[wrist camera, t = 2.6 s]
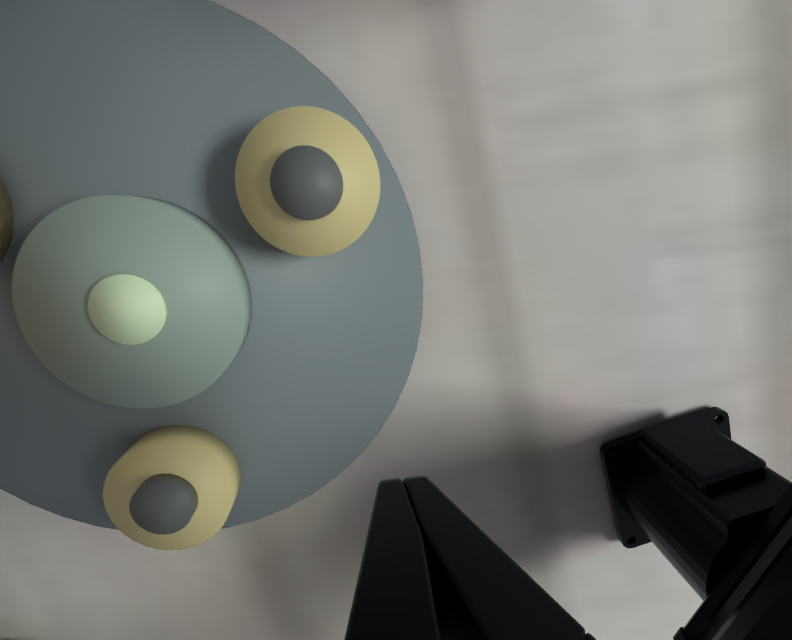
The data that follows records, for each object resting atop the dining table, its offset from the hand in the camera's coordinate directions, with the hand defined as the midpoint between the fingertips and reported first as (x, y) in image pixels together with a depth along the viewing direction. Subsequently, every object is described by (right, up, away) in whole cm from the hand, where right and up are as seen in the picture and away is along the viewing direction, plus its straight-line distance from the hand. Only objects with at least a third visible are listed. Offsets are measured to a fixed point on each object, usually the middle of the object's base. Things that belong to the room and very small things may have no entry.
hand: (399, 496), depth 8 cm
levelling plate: (-10, +4, +10) cm, 15 cm away
